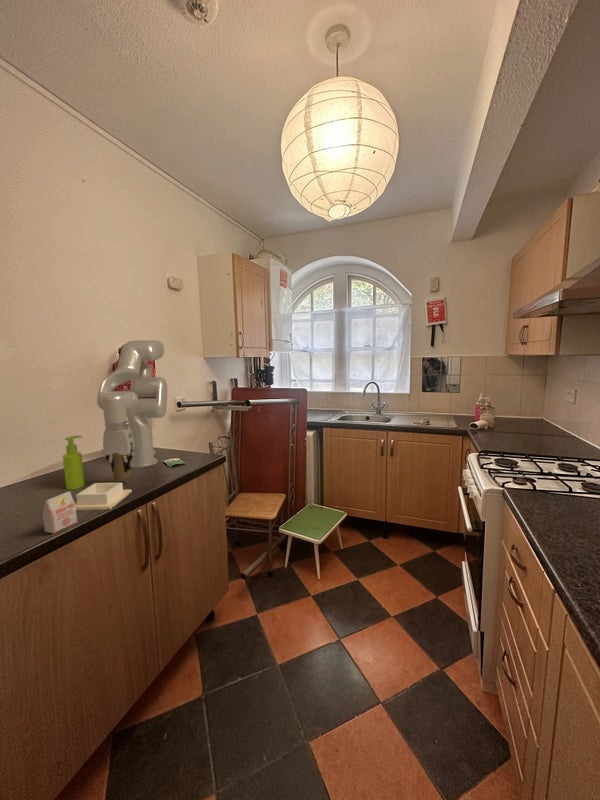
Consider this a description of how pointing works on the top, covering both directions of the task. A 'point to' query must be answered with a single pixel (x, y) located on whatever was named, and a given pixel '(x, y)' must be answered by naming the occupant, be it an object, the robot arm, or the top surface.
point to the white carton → (59, 512)
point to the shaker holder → (101, 496)
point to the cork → (119, 467)
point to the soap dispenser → (73, 465)
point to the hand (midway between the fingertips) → (121, 470)
